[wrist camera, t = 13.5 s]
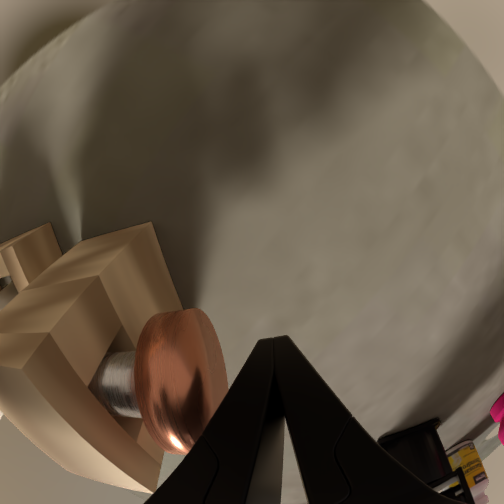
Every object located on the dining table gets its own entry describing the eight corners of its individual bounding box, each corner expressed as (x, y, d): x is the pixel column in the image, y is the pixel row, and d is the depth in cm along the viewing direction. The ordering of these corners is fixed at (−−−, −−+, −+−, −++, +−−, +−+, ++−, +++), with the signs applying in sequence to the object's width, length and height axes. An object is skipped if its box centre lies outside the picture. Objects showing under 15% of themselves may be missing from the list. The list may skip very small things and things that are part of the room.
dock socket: (141, 189, 11) (-18, 306, 3) (202, 353, 14) (173, 505, 6) (-21, 254, 12) (-100, 319, 4) (33, 357, 16) (-17, 435, 8)
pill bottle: (479, 433, 23) (503, 491, 12) (454, 456, 25) (474, 510, 15) (449, 445, 22) (473, 511, 12) (424, 467, 25) (442, 527, 14)
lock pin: (197, 279, 8) (158, 394, 4) (232, 375, 9) (224, 476, 6) (18, 308, 9) (-35, 367, 5) (62, 377, 10) (28, 438, 7)
